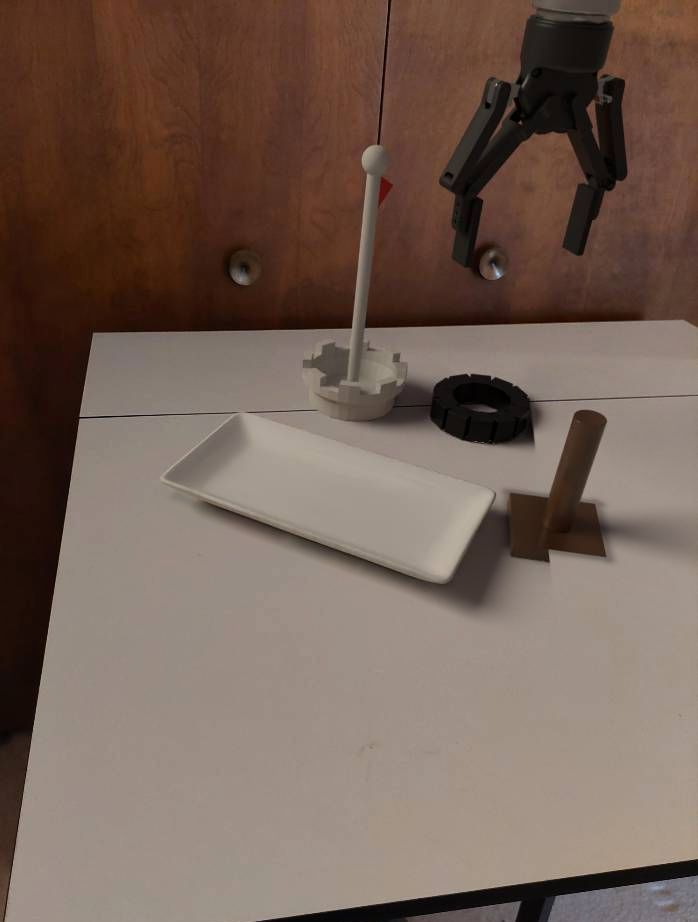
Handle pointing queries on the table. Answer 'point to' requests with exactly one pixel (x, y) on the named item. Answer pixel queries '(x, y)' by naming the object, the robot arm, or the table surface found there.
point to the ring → (480, 423)
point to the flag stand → (358, 332)
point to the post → (562, 501)
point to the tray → (336, 495)
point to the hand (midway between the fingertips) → (517, 257)
